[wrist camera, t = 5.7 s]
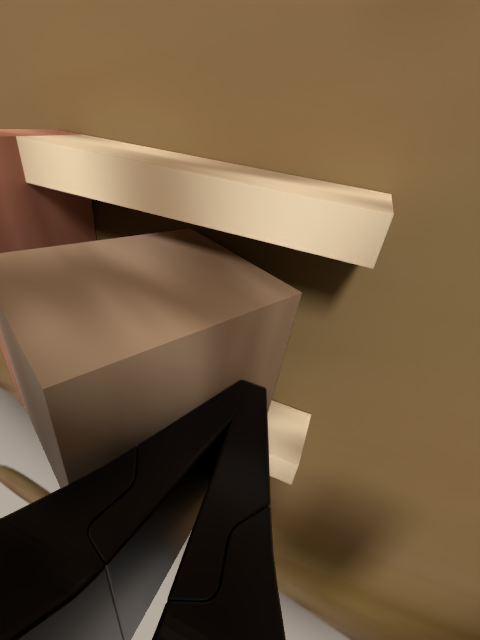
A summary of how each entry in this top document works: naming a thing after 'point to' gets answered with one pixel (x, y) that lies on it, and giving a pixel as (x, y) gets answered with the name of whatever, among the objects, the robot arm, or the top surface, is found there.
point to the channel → (183, 216)
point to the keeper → (134, 337)
